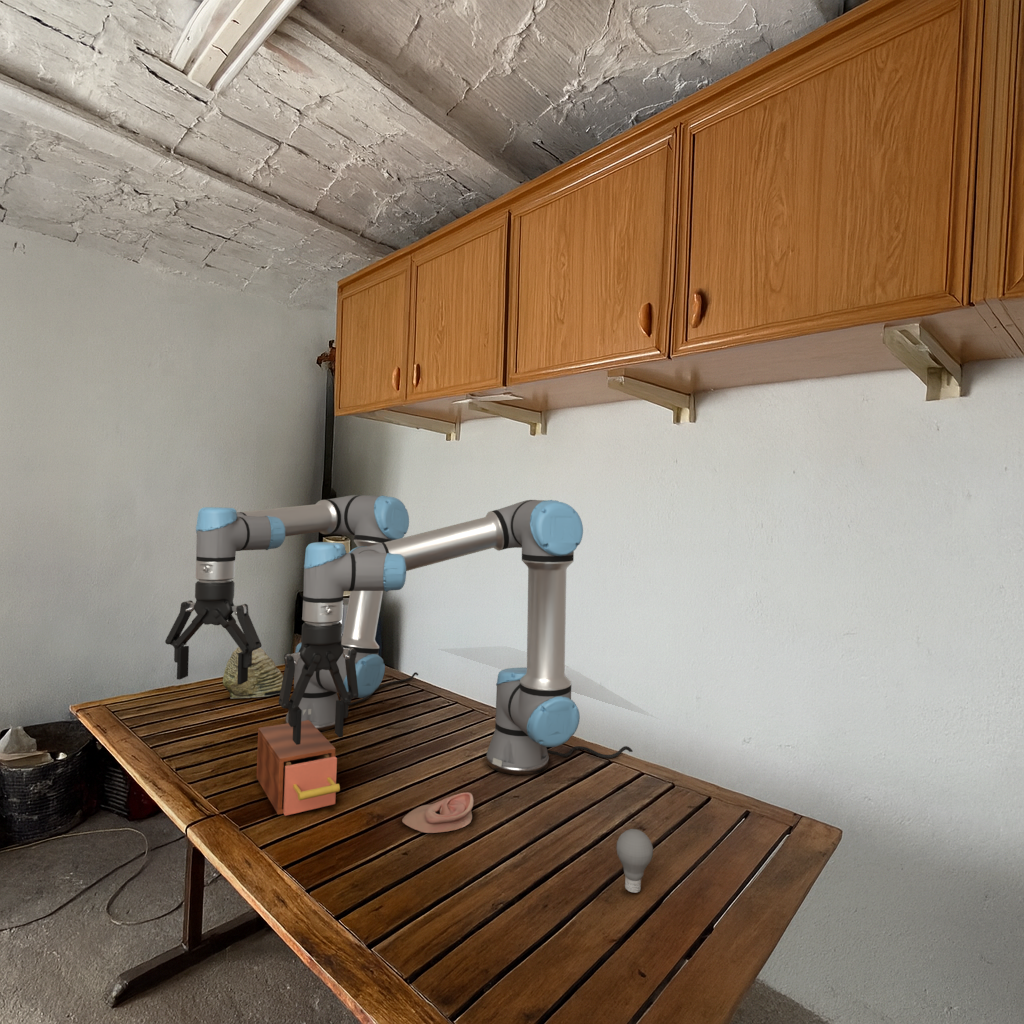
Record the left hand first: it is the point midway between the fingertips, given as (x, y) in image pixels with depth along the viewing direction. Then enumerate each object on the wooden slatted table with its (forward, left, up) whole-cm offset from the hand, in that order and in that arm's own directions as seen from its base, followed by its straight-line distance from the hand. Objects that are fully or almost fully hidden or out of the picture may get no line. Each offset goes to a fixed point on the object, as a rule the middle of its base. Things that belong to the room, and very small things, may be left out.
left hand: (212, 680), depth 134 cm
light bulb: (-30, +84, -24) cm, 93 cm away
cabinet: (-12, +12, -24) cm, 29 cm away
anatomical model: (-25, +44, -24) cm, 56 cm away
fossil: (-39, -52, -24) cm, 70 cm away
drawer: (-11, +18, -23) cm, 31 cm away
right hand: (-8, +27, -7) cm, 29 cm away
